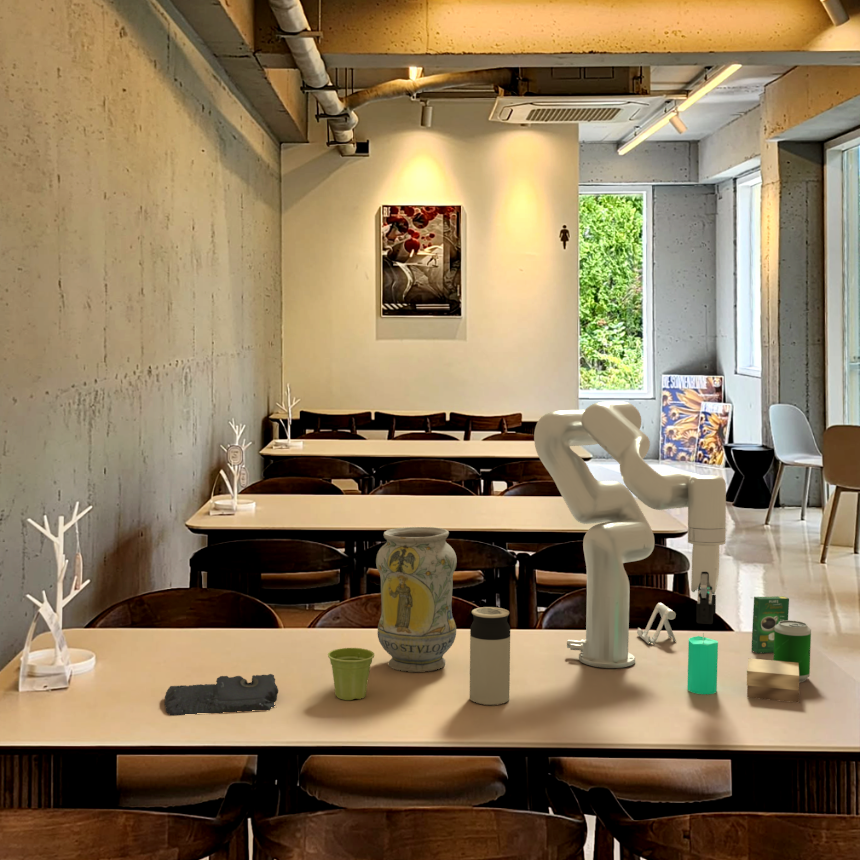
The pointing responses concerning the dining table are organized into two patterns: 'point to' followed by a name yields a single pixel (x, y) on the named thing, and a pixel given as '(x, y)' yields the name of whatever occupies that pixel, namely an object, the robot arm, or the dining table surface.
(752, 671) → the oak block
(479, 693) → the travel mug
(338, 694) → the plant pot
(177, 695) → the dark slate chunk
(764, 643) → the coffee box
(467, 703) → the dining table surface
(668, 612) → the portable electronic device stand
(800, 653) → the soda can
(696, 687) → the candle
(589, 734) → the dining table surface
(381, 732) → the dining table surface
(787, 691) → the tan flat block
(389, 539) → the vase
